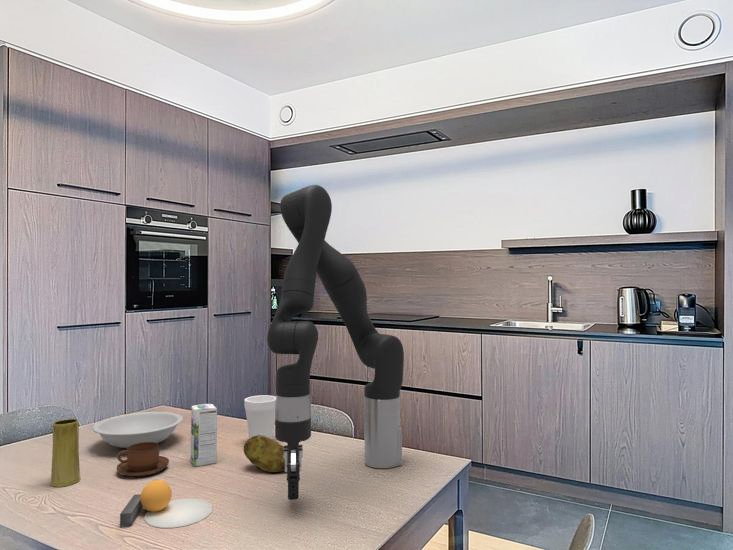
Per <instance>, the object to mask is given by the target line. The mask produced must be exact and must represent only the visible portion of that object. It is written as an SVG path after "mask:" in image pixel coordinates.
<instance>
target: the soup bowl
mask: <svg viewBox="0 0 733 550" xmlns="http://www.w3.org/2000/svg"><path fill="white" fill-rule="evenodd" d="M183 422H184V418H183V415H181V414H178V413H175V412H171V411H170V412H169V411H142V412H132V413H126V414H121V415H116V416H111V417H108V418H104V419H102V420H99V421H98V422H96V423H95V424H93V425H92V427H91V429H92V431H93V432H94V433H96V434H98V435H99V436H100V437H101V439H102V440H103V441H104V442H106V443H107V444H109V445H111V446H113V447H115V448H121V449H127V448H128V447H129V446H131V445H134V444H138V443H144V442H154V443H158V444H159V443H161V442H163V441H164V440H166V439H167V438H168V437H170V436H171V435H172V433H174V431H175V429H176V428H177V426H178V425H181V423H183Z"/></svg>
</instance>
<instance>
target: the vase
mask: <svg viewBox="0 0 733 550" xmlns="http://www.w3.org/2000/svg"><path fill="white" fill-rule="evenodd" d="M79 423H80V422H79V419H77V418H65V419H64V418H63V419H59V420H56V421H55V420H54V421H53V422H52V449H51V451H52V453H51V474H50V475H51V476H50V482H49V484H50V485H51V487H54V488H55V487H56V488H63V487H69V486H72V485H74V484H77V483H79V482H80V480H81V472H80V471H81V470H80V467H81V466H80V454H79V453H80V452H79V449H80V446H79V445H80V443H79V440H80V439H79V438H80V437H79V435H80V433H79V431H80V430H79V429H80V428H79V427H80V424H79Z"/></svg>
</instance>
